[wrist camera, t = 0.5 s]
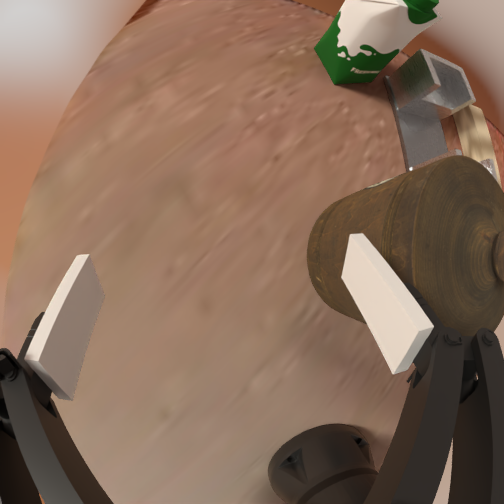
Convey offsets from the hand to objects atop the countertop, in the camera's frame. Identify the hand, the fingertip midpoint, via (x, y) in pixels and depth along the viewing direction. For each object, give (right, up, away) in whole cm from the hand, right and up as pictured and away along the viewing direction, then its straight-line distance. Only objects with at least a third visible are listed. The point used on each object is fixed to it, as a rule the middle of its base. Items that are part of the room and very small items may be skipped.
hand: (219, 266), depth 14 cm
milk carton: (+15, +28, +20) cm, 38 cm away
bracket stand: (+28, +17, +21) cm, 39 cm away
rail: (+41, +18, +23) cm, 50 cm away
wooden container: (+15, 0, +20) cm, 25 cm away
